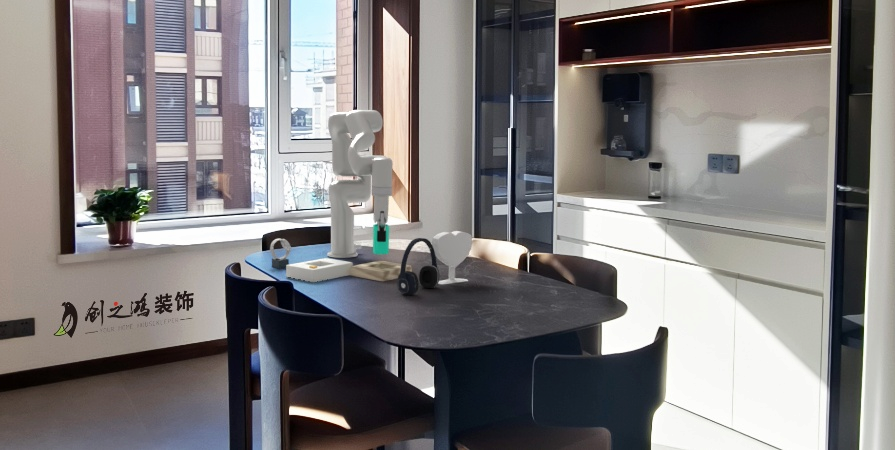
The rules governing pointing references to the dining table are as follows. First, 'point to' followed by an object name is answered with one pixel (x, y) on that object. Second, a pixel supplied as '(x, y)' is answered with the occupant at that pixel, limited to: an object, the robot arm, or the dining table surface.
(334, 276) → the port block
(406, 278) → the headphones
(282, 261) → the watch
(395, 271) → the beige compartment tray
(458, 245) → the heart sculpture
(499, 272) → the dining table surface
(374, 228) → the candle
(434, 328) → the dining table surface
